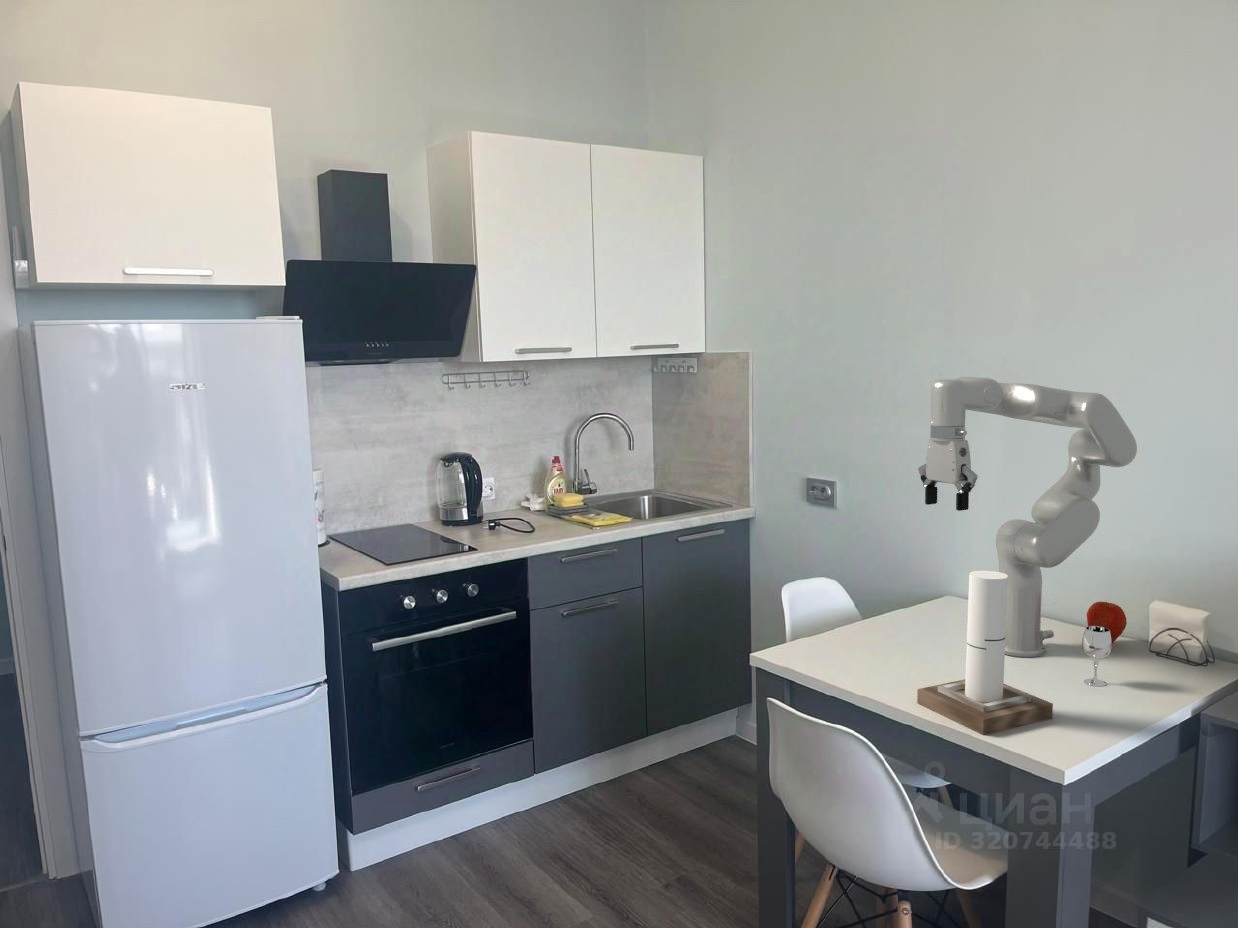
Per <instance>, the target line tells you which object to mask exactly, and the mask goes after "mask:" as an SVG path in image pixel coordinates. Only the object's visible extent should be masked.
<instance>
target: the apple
mask: <svg viewBox="0 0 1238 928" xmlns="http://www.w3.org/2000/svg"><path fill="white" fill-rule="evenodd" d="M1086 623H1087V627H1088V626H1099V627H1104V628H1107V629H1109V630H1110V634H1111V640H1112V644H1114V643H1115V641H1116V640H1117V639H1119V637H1120V636H1121V635H1122V634H1123V632H1124V631H1125V629H1126V628H1127V627H1126V626H1127V624H1128V623H1127V617H1126V613H1125V610H1123V609H1122V607H1121V606H1120V605H1118V604H1115V603H1113V602H1108V601H1096V602H1094V603H1093V604H1091V605H1090V606H1089V608H1088V610H1087V612H1086Z"/></svg>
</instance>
